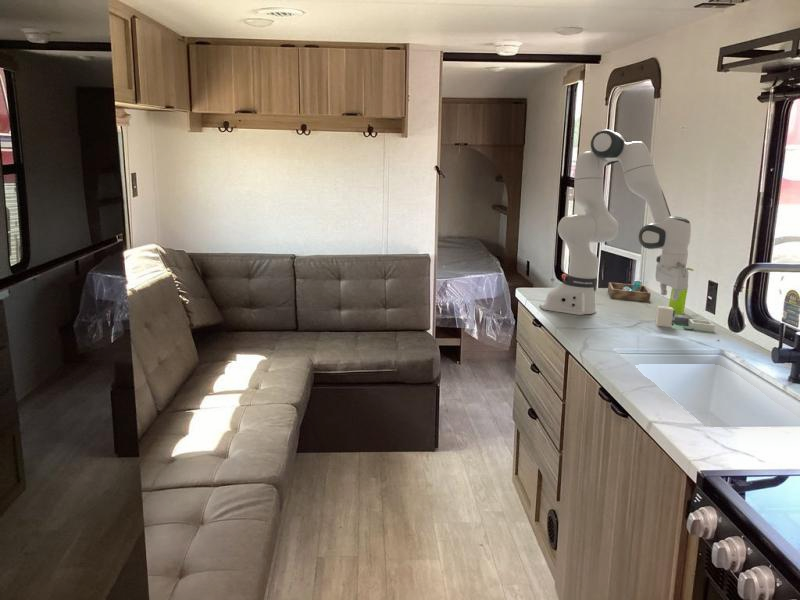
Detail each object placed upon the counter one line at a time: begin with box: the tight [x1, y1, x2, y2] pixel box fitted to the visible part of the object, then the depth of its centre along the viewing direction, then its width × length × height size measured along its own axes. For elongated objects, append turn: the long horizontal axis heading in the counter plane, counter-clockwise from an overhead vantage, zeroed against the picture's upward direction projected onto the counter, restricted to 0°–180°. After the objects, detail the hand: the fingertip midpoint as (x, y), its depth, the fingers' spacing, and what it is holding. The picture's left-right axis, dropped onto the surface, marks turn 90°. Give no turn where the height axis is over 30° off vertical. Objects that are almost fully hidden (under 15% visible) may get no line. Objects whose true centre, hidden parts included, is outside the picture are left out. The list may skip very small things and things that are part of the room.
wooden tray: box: [607, 282, 651, 303], centre depth 297 cm, size 17×17×4 cm
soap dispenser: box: [668, 267, 694, 315], centre depth 264 cm, size 6×7×20 cm
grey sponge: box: [671, 314, 691, 326], centre depth 248 cm, size 7×8×3 cm
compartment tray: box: [671, 318, 716, 335], centre depth 244 cm, size 14×15×4 cm
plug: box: [654, 305, 675, 328], centre depth 243 cm, size 6×4×8 cm
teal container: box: [622, 279, 643, 292], centre depth 297 cm, size 12×12×8 cm
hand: (668, 297), depth 241 cm, fingers open, 8 cm apart
